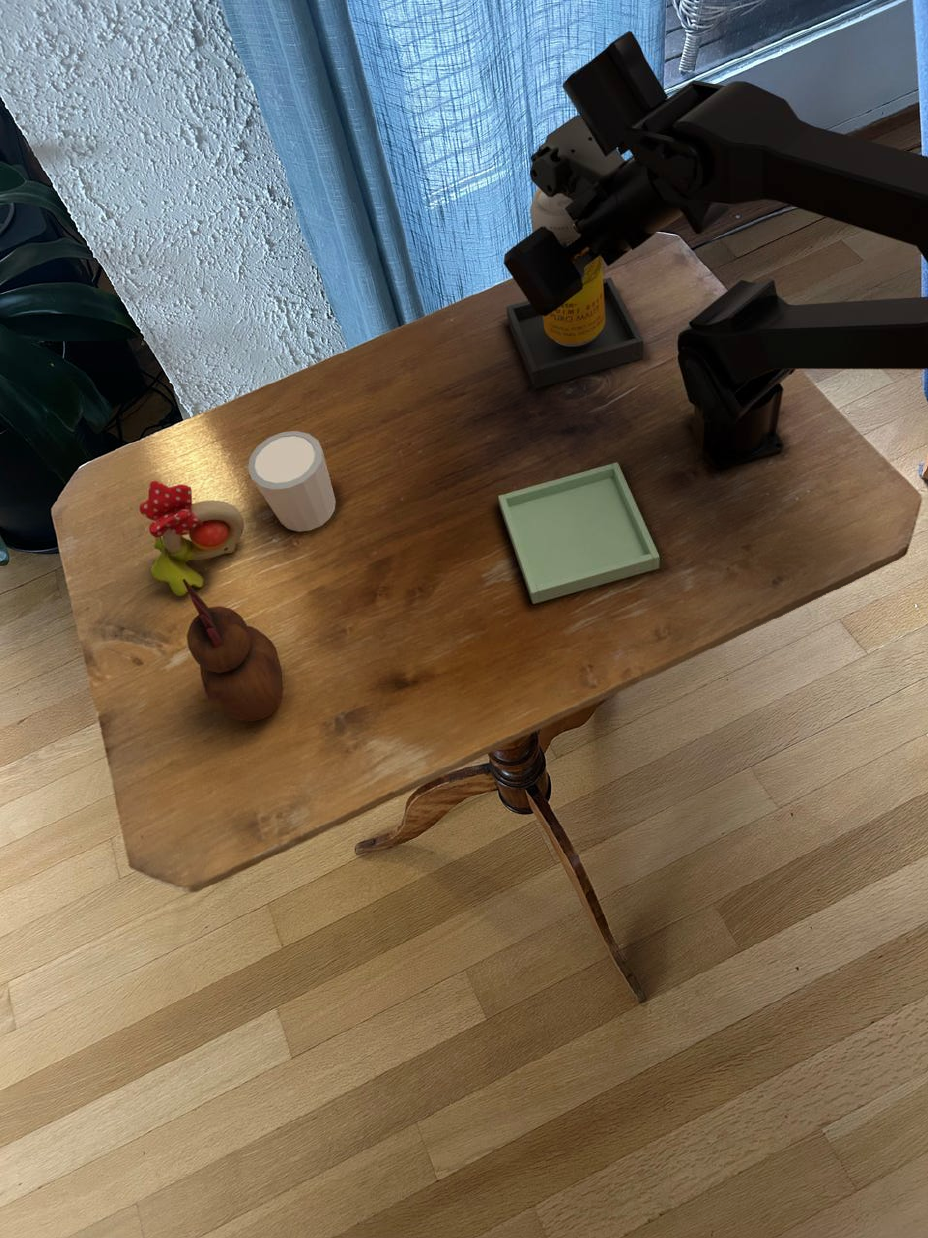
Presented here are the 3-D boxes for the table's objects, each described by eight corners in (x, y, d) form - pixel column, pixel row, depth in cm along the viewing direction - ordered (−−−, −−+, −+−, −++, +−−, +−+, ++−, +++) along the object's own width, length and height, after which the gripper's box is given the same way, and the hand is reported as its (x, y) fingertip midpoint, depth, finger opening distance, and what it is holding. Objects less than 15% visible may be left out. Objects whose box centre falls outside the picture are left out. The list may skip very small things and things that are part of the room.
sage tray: (617, 474, 90) (617, 461, 89) (659, 568, 84) (659, 556, 83) (500, 507, 90) (497, 495, 89) (532, 604, 84) (531, 593, 83)
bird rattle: (226, 540, 96) (131, 558, 92) (231, 449, 88) (128, 464, 84) (249, 584, 93) (152, 605, 88) (257, 494, 85) (151, 511, 81)
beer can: (552, 356, 98) (536, 222, 85) (539, 317, 101) (522, 183, 89) (612, 341, 97) (605, 205, 85) (597, 303, 101) (588, 167, 88)
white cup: (331, 539, 91) (310, 490, 86) (262, 534, 93) (237, 486, 87) (350, 482, 95) (331, 431, 89) (283, 478, 96) (260, 428, 91)
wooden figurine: (227, 667, 85) (156, 566, 73) (292, 657, 85) (231, 554, 72) (223, 737, 82) (147, 644, 69) (291, 727, 81) (227, 631, 69)
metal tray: (611, 294, 104) (610, 276, 102) (643, 358, 98) (643, 340, 96) (508, 324, 104) (505, 306, 102) (534, 389, 98) (532, 371, 96)
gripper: (671, 47, 80) (580, 134, 94) (504, 164, 75) (436, 236, 89) (742, 170, 82) (643, 236, 97) (586, 290, 77) (506, 341, 92)
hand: (559, 259), depth 94 cm, fingers closed on beer can, 6 cm apart
